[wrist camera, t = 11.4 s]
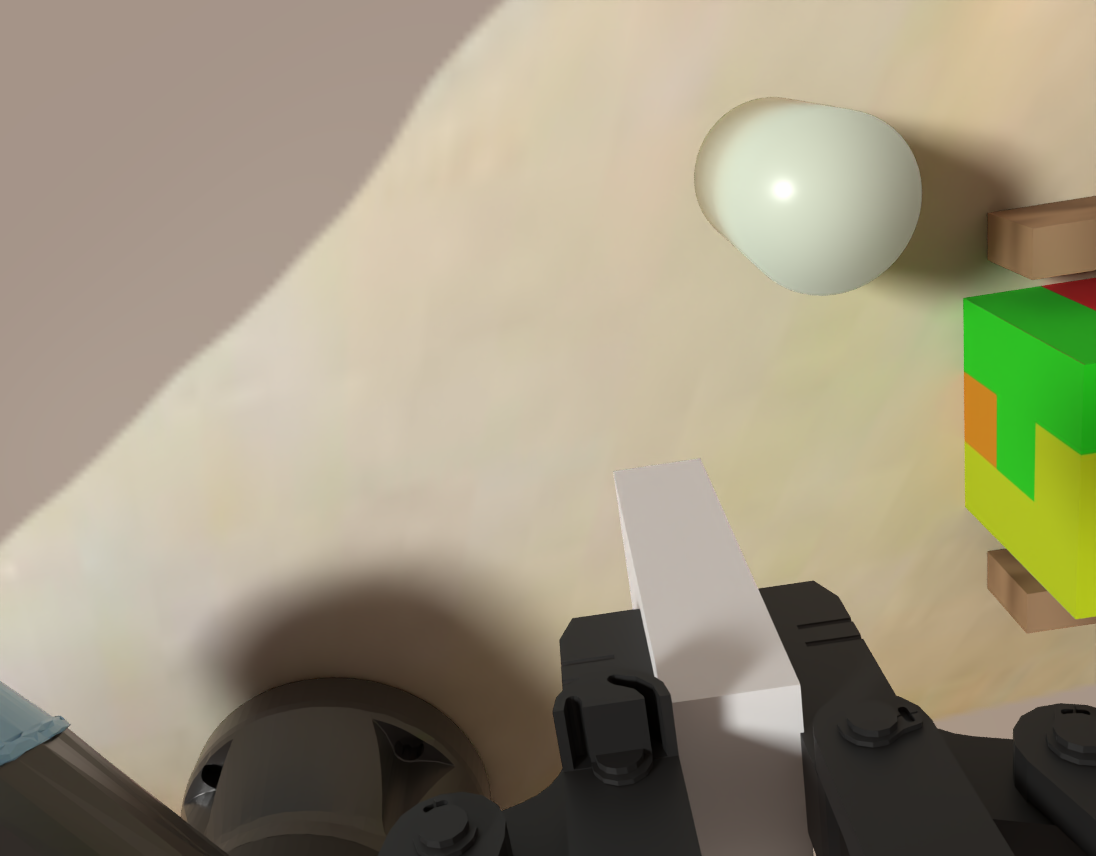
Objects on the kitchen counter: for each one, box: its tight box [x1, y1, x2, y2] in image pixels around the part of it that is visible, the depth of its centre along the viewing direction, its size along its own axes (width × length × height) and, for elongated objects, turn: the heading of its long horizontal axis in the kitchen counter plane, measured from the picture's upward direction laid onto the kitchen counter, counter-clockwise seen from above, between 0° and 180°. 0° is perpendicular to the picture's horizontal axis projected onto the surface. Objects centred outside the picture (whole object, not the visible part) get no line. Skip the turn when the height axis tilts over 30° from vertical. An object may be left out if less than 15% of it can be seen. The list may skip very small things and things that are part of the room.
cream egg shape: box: [694, 97, 922, 296], centre depth 37 cm, size 6×6×9 cm
